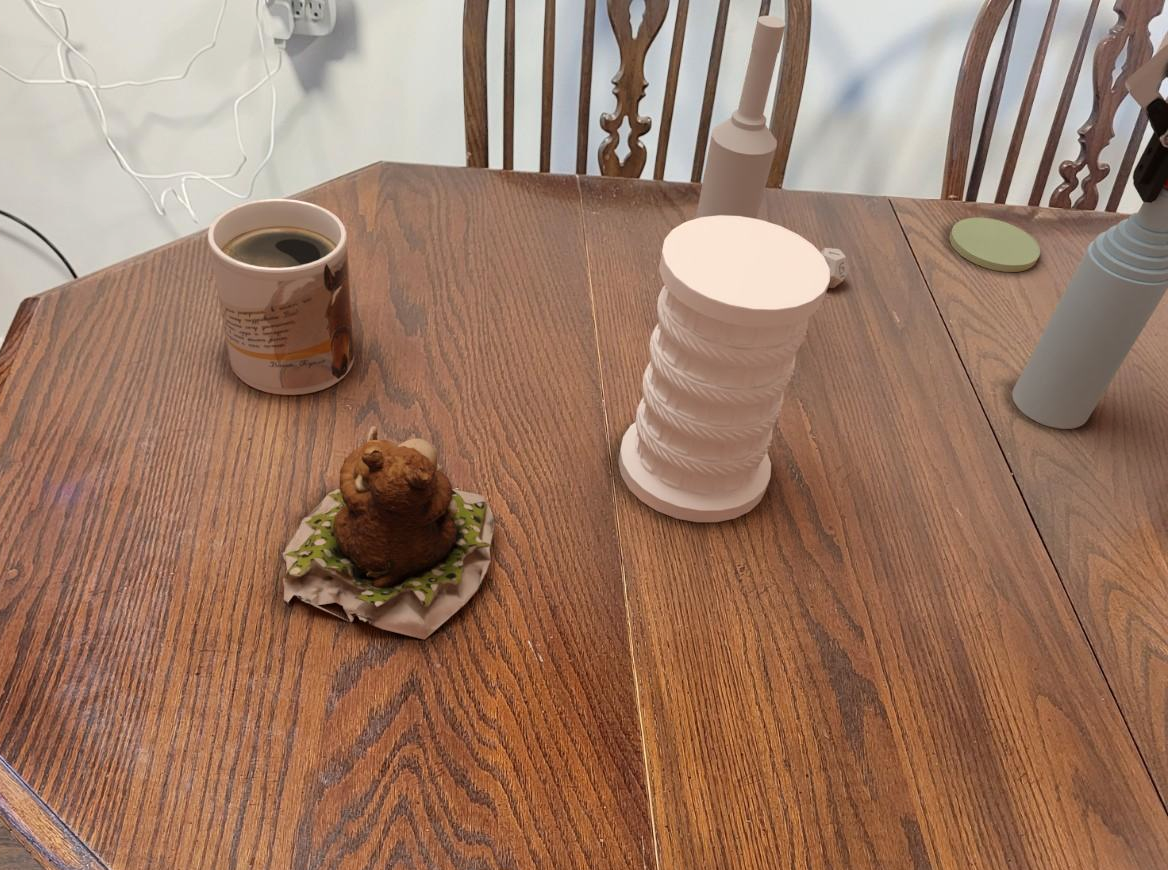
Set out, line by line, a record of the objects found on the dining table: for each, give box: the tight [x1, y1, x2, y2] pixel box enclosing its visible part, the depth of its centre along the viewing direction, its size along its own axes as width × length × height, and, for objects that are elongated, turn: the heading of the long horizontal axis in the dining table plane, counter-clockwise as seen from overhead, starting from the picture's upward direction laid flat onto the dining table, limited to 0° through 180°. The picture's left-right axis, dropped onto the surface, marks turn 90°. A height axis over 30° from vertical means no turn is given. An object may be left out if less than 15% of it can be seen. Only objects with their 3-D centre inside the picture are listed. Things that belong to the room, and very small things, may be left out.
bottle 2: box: [1011, 185, 1168, 430], centre depth 83 cm, size 7×7×20 cm
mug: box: [207, 198, 355, 396], centre depth 81 cm, size 10×12×11 cm
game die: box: [819, 247, 851, 289], centre depth 98 cm, size 4×4×3 cm
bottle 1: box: [695, 15, 786, 219], centre depth 84 cm, size 5×5×25 cm
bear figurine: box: [282, 425, 496, 640], centre depth 67 cm, size 14×15×12 cm
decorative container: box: [617, 215, 830, 523], centre depth 73 cm, size 12×12×18 cm
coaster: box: [948, 217, 1041, 273], centre depth 107 cm, size 9×9×1 cm
